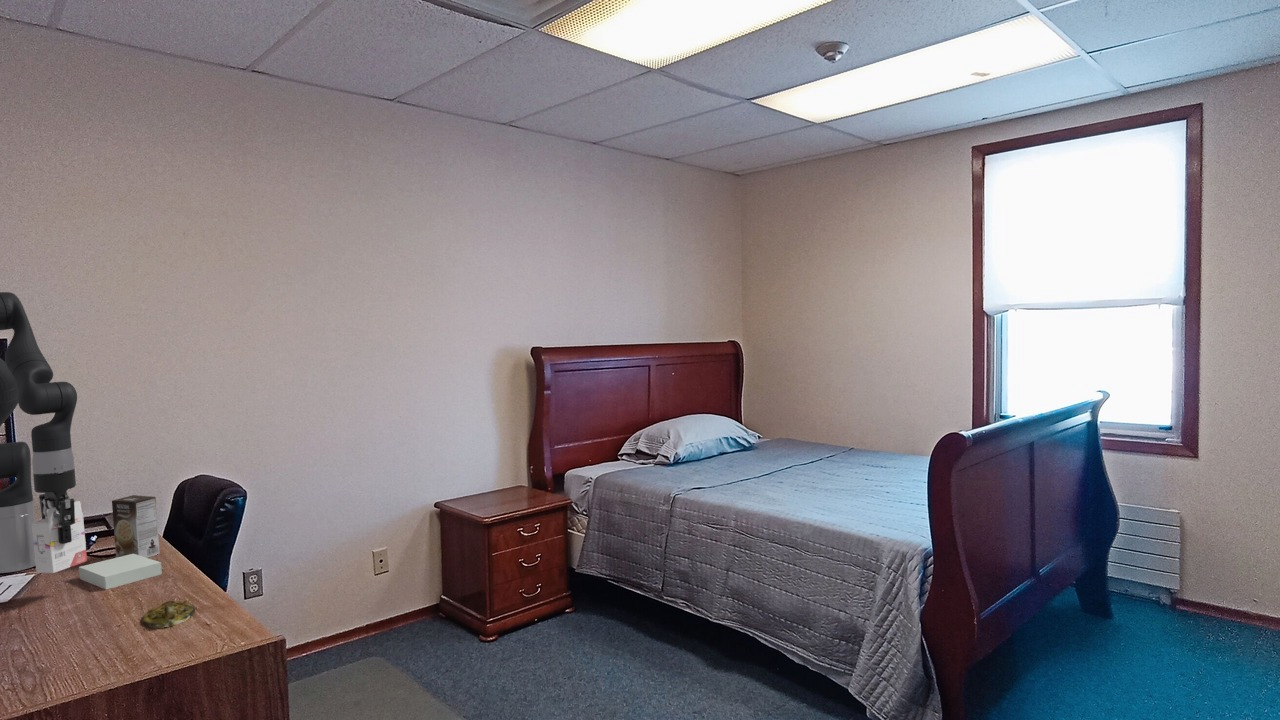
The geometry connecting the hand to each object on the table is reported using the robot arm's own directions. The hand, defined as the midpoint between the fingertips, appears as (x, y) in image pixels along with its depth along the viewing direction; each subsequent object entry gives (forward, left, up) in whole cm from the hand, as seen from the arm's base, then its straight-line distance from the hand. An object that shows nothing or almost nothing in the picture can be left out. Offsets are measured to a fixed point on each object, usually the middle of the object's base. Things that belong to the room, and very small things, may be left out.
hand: (59, 540), depth 171 cm
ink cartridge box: (0, 0, -6) cm, 6 cm away
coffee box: (-20, +23, -13) cm, 33 cm away
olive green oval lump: (+38, +7, -14) cm, 40 cm away
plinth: (-4, +13, -13) cm, 19 cm away
